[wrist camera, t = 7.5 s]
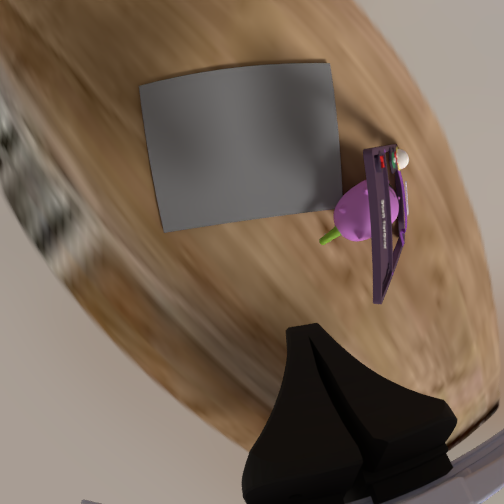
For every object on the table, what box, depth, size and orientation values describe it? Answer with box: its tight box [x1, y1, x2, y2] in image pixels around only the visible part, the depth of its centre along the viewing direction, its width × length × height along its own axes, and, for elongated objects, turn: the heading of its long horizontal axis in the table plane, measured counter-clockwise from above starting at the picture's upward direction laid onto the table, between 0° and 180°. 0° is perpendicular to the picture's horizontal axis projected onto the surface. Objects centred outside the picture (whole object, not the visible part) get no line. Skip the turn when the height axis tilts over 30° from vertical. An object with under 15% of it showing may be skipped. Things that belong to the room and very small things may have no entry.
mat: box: [139, 63, 343, 233], centre depth 16 cm, size 9×11×1 cm
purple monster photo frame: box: [319, 144, 409, 304], centre depth 15 cm, size 7×5×9 cm
